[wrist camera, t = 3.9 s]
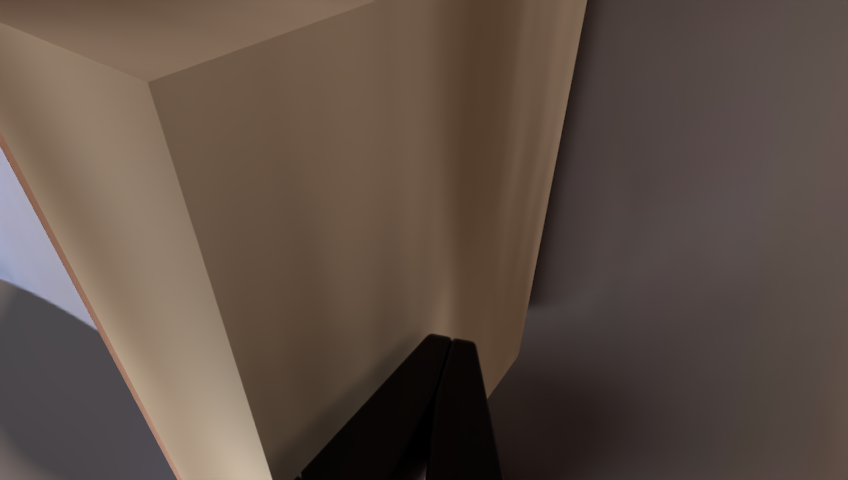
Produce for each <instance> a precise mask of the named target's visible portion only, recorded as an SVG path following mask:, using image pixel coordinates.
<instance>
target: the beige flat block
mask: <svg viewBox="0 0 848 480" xmlns="http://www.w3.org/2000/svg"><path fill="white" fill-rule="evenodd" d="M586 4H587V0H0V147H1V148H2V150H3V152H4V154H5V156H6V158H7V160H8V162H9V163H10V165H11V167H12V169H13V171H14V173H15V175H16V177H17V179H18V180H19V182H20V184H21V186H22V188H23V190H24V192H25V194H26V195H27V197H28V199H29V201H30V203H31V205H32V207H33V209H34V211H35V212H36V214H37V216H38V218H39V220H40V222H41V224H42V226H43V227H44V229H45V231H46V233H47V235H48V237H49V239H50V241H51V243H52V244H53V246H54V248H55V250H56V252H57V254H58V256H59V258H60V259H61V261H62V263H63V265H64V267H65V269H66V271H67V273H68V275H69V276H70V278H71V280H72V282H73V284H74V286H75V288H76V290H77V291H78V293H79V295H80V297H81V299H82V301H83V303H84V305H85V307H86V308H87V310H88V312H89V314H90V316H91V318H92V320H93V322H94V323H95V325H96V327H97V329H98V331H99V333H100V335H101V337H102V338H103V340H104V342H105V344H106V346H107V348H108V350H109V352H110V354H111V355H112V357H113V359H114V361H115V363H116V365H117V367H118V369H119V371H120V372H121V374H122V376H123V378H124V380H125V382H126V383H127V386H128V387H129V389H130V391H131V393H132V395H133V397H134V399H135V401H136V403H137V404H138V406H139V408H140V410H141V412H142V414H143V416H144V418H145V419H146V421H147V423H148V425H149V427H150V429H151V431H152V433H153V435H154V436H155V438H156V440H157V442H158V444H159V446H160V448H161V450H162V451H163V453H164V455H165V457H166V459H167V461H168V463H169V465H170V467H171V468H172V470H173V472H174V474H175V476H176V478H177V480H294V479H295V477H297V476H299V477H300V472H301V471H302V470H303V469H304V468H305V467H306V466H307V465H308V464H309V463H310V462H311V460H312V459H313V458H314V457H315V456H316V455H317V454H318V453H319V452H320V451H321V450H322V449H323V447H324V446H325V445H326V444H327V443H328V442H329V441H330V440H331V439H332V438H333V437H334V436H335V434H336V433H337V432H338V431H339V430H340V429H341V428H342V427H343V426H344V425H345V424H346V423H347V422H348V420H349V419H350V418H351V417H352V416H353V415H354V414H355V413H356V412H357V411H358V410H359V409H360V407H361V406H362V405H363V404H364V403H365V402H366V401H367V400H368V399H369V398H370V397H371V396H372V394H373V393H374V392H375V391H376V390H377V389H378V388H379V387H380V386H381V385H382V384H383V383H384V381H385V380H386V379H387V378H388V377H389V376H390V375H391V374H392V373H393V372H394V371H395V370H396V369H397V367H398V366H399V365H400V364H401V363H402V362H403V361H404V360H405V359H406V358H407V357H408V356H409V354H410V353H411V352H412V351H413V350H414V349H415V348H416V347H417V346H418V345H419V344H420V343H421V341H422V340H423V339H424V338H425V337H426V336H427V335H429V334H431V333H433V334H439V335H444V336H448V337H450V338H451V339H452V340H453V339H454V338H459V339H464V340H469V341H473V342H475V344H476V346H477V351H478V356H479V361H480V365H481V370H482V375H483V380H484V385H485V390H486V394H487V399H488V397H489V396H490V395H491V393H492V392H493V390H494V389H495V388H496V386H497V385H498V383H499V382H500V381H501V379H502V378H503V376H504V375H505V374H506V372H507V371H508V370H509V368H510V367H511V365H512V364H513V363H514V361H515V360H516V358H517V357H518V355H519V350H520V345H521V340H522V335H523V330H524V324H525V319H526V314H527V309H528V304H529V299H530V293H531V288H532V283H533V278H534V273H535V267H536V262H537V257H538V252H539V247H540V242H541V236H542V231H543V226H544V221H545V216H546V211H547V205H548V200H549V195H550V190H551V185H552V180H553V174H554V169H555V164H556V159H557V154H558V149H559V143H560V138H561V133H562V128H563V123H564V118H565V112H566V107H567V102H568V97H569V92H570V86H571V81H572V76H573V71H574V66H575V61H576V55H577V50H578V45H579V40H580V35H581V30H582V24H583V19H584V14H585V9H586ZM425 477H426V476H425ZM424 480H425V479H424Z"/></svg>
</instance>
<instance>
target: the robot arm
mask: <svg viewBox="0 0 848 480" xmlns="http://www.w3.org/2000/svg"><path fill="white" fill-rule="evenodd" d="M425 476H426V477H425ZM424 479H425V480H504V477H503V472H502V467H501V462H500V457H499V452H498V448H497V443H496V438H495V433H494V428H493V423H492V419H491V414H490V409H489V404H488V399H487V394H486V390H485V385H484V380H483V375H482V370H481V365H480V361H479V356H478V351H477V346H476V344H475V342H473V341H469V340H464V339H459V338H454V339H453V340H452V339H451V338H450V337H448V336H444V335H439V334H433V333H431V334H429V335H427V336H426V337H425V338H424V339H423V340H422V341H421V343H420V344H419V345H418V346H417V347H416V348H415V349H414V350H413V351H412V352H411V353H410V354H409V356H408V357H407V358H406V359H405V360H404V361H403V362H402V363H401V364H400V365H399V366H398V367H397V369H396V370H395V371H394V372H393V373H392V374H391V375H390V376H389V377H388V378H387V379H386V380H385V381H384V383H383V384H382V385H381V386H380V387H379V388H378V389H377V390H376V391H375V392H374V393H373V394H372V396H371V397H370V398H369V399H368V400H367V401H366V402H365V403H364V404H363V405H362V406H361V407H360V409H359V410H358V411H357V412H356V413H355V414H354V415H353V416H352V417H351V418H350V419H349V420H348V422H347V423H346V424H345V425H344V426H343V427H342V428H341V429H340V430H339V431H338V432H337V433H336V434H335V436H334V437H333V438H332V439H331V440H330V441H329V442H328V443H327V444H326V445H325V446H324V447H323V449H322V450H321V451H320V452H319V453H318V454H317V455H316V456H315V457H314V458H313V459H312V460H311V462H310V463H309V464H308V465H307V466H306V467H305V468H304V469H303V470H302V471H301V472H300V477H299V476H297V477H295V479H294V480H424Z"/></svg>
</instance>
